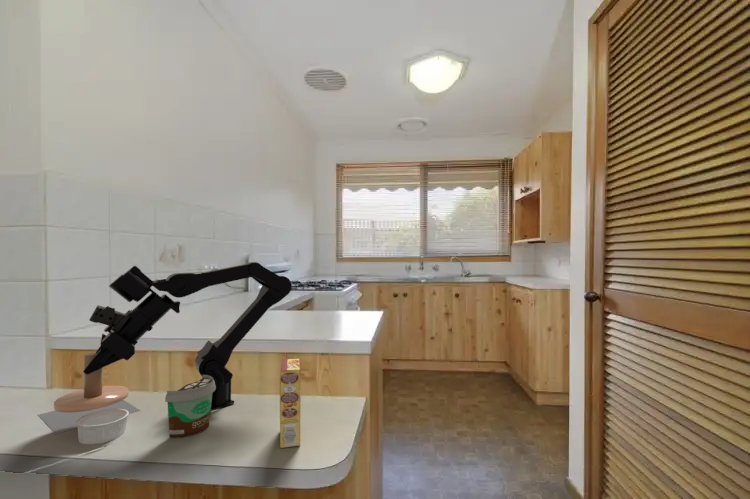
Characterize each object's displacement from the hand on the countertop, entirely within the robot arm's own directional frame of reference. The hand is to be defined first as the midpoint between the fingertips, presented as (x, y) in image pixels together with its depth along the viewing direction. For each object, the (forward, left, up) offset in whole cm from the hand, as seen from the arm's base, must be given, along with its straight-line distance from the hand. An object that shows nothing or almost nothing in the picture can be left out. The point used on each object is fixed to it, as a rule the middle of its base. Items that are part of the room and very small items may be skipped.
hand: (85, 371), depth 81 cm
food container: (-16, +18, -13) cm, 27 cm away
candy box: (-26, +37, -13) cm, 47 cm away
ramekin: (-2, +6, -13) cm, 15 cm away
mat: (-4, -10, -13) cm, 17 cm away
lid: (-1, 0, -7) cm, 7 cm away
